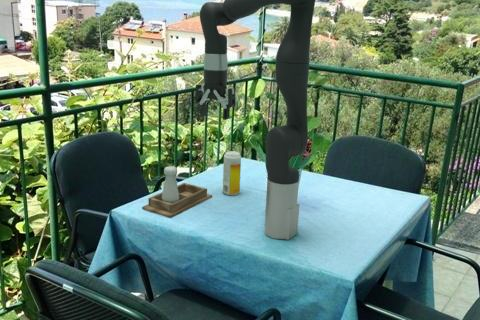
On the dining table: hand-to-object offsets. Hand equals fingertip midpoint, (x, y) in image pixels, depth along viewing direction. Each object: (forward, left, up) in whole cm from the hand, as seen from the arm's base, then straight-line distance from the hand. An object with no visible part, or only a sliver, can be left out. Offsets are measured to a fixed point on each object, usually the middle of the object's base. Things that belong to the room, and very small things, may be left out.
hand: (214, 117), depth 168 cm
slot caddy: (+9, +8, -30) cm, 32 cm away
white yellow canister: (0, -11, -30) cm, 32 cm away
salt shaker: (+9, +12, -29) cm, 33 cm away
